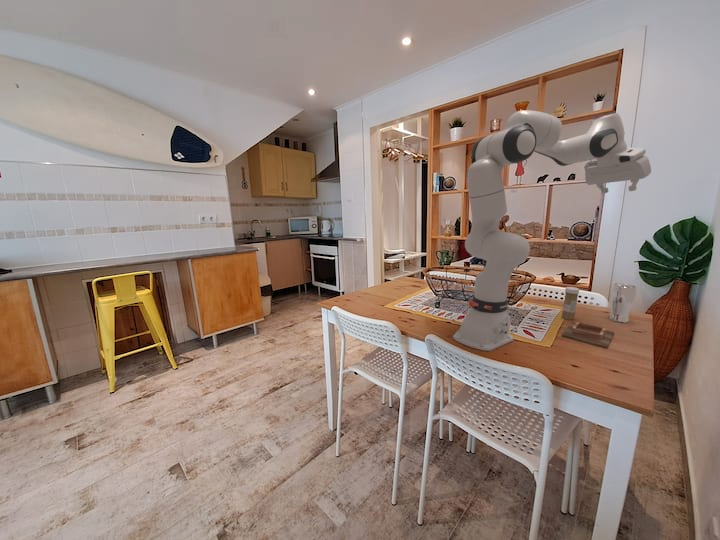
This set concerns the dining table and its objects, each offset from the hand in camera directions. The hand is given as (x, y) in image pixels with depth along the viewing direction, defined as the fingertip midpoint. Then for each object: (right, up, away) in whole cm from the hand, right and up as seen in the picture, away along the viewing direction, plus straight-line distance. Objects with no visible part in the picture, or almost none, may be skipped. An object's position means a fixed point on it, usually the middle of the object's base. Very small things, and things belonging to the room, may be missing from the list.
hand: (618, 191), depth 111 cm
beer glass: (+6, -52, +7) cm, 53 cm away
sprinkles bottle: (-13, -52, +10) cm, 54 cm away
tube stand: (-17, -55, -6) cm, 58 cm away
